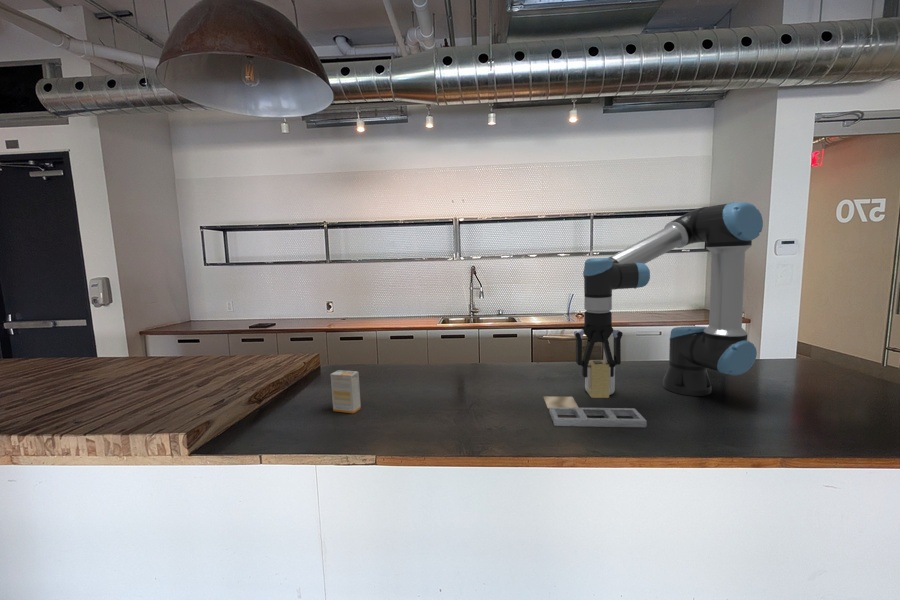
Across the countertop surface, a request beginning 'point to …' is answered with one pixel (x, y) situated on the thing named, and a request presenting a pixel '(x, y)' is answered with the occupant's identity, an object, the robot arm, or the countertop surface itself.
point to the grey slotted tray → (608, 421)
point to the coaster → (560, 402)
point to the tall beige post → (599, 379)
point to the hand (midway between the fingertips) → (597, 386)
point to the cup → (612, 384)
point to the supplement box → (345, 391)
